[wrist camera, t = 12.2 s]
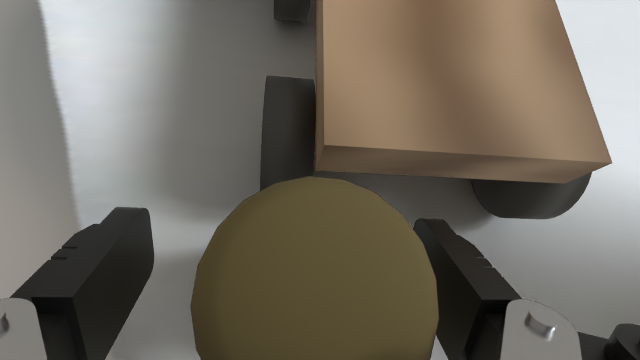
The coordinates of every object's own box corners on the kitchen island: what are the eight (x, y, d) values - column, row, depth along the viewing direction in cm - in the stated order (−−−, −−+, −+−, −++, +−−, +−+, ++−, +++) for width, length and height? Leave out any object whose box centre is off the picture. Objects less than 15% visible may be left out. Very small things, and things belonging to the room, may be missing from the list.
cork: (314, 404, 15) (415, 613, 4) (198, 330, 15) (51, 365, 5) (374, 279, 17) (529, 231, 7) (272, 218, 17) (275, 85, 7)
